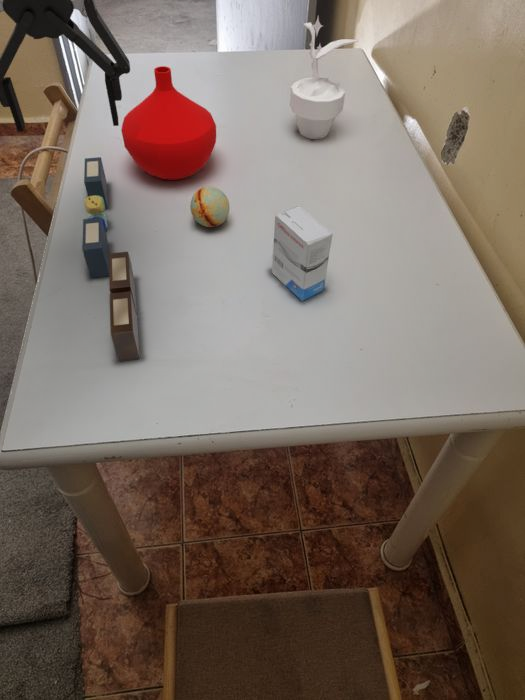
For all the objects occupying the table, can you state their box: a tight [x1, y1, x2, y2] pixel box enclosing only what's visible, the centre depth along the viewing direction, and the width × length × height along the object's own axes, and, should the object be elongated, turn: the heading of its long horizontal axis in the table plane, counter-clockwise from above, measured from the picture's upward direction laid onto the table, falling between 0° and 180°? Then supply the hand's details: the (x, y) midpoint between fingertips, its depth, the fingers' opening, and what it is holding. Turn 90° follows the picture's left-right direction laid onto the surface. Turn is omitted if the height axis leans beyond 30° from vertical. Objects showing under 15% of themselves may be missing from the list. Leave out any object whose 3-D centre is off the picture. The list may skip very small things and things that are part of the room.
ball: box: [189, 186, 231, 228], centre depth 93 cm, size 7×7×7 cm
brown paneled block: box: [108, 251, 141, 363], centre depth 77 cm, size 3×17×6 cm, turn 11°
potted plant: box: [289, 15, 359, 140], centre depth 108 cm, size 13×12×25 cm
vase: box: [121, 65, 217, 181], centre depth 100 cm, size 18×18×19 cm
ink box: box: [271, 205, 334, 302], centre depth 82 cm, size 8×5×12 cm, turn 34°
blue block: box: [81, 156, 110, 279], centre depth 91 cm, size 3×27×6 cm, turn 11°
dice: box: [84, 195, 108, 233], centre depth 91 cm, size 8×3×6 cm, turn 11°
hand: (69, 124), depth 77 cm, fingers open, 13 cm apart
